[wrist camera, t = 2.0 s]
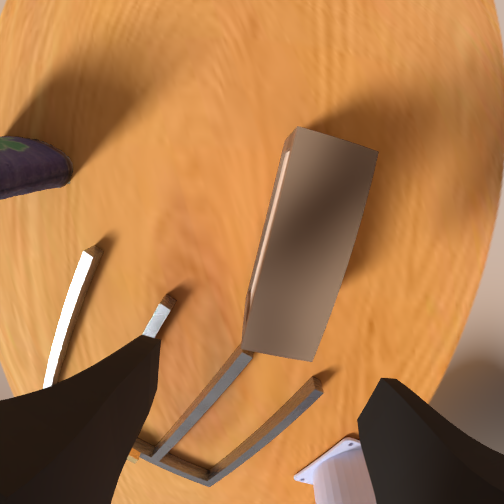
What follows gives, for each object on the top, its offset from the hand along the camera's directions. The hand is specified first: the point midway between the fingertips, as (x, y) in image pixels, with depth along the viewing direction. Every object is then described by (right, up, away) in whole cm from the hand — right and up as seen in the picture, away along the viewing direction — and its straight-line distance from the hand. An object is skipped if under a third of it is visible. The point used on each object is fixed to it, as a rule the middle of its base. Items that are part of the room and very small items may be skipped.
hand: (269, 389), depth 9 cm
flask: (-17, +11, +9) cm, 22 cm away
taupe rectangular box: (+2, +6, +9) cm, 11 cm away
